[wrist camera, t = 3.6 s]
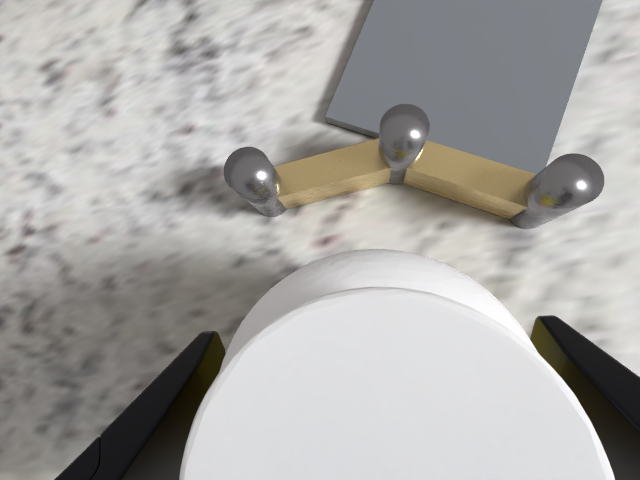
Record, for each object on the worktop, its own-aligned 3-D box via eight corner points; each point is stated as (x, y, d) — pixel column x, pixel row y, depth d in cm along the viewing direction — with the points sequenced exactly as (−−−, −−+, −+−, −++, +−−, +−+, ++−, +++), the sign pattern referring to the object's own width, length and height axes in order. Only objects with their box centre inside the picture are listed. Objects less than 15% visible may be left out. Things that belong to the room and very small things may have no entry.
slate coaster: (599, -3, 18) (606, -14, 17) (533, 188, 17) (539, 184, 16) (397, -48, 20) (398, -58, 19) (326, 122, 19) (325, 116, 18)
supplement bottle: (351, 470, 16) (277, 1109, 3) (269, 332, 17) (-2, 404, 5) (484, 381, 16) (943, 679, 3) (391, 250, 17) (450, 97, 5)
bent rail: (554, 196, 17) (610, 163, 13) (516, 310, 16) (563, 311, 12) (290, 113, 19) (270, 63, 15) (249, 209, 18) (216, 183, 14)
